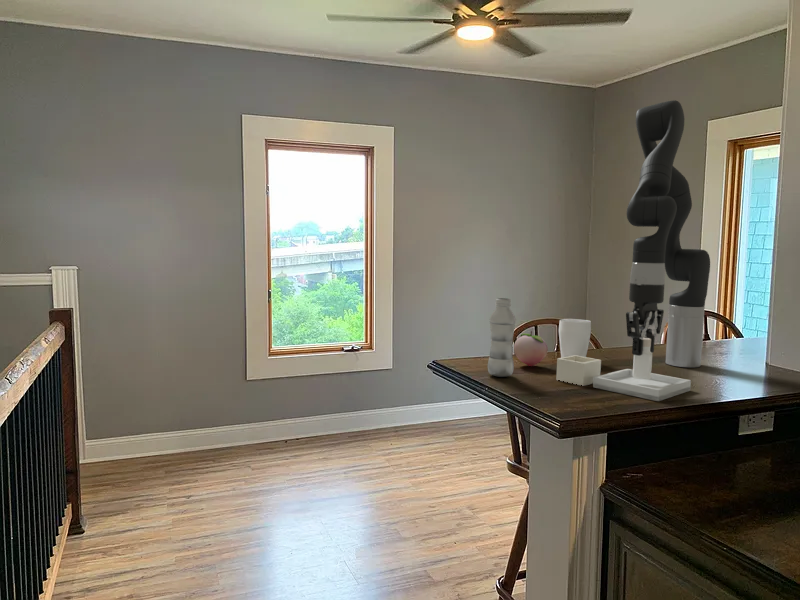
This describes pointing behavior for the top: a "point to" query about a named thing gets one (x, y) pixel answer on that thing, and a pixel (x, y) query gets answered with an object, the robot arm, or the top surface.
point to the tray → (642, 385)
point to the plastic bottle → (501, 339)
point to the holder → (578, 369)
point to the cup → (574, 337)
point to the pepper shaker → (643, 362)
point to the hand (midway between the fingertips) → (642, 353)
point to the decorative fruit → (530, 349)
